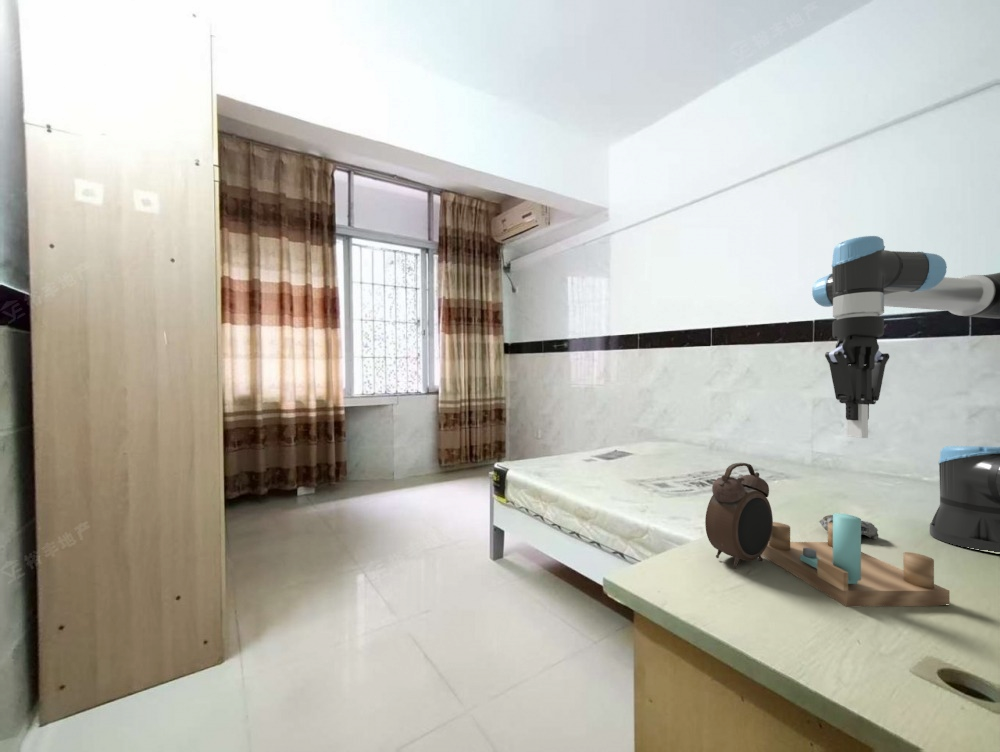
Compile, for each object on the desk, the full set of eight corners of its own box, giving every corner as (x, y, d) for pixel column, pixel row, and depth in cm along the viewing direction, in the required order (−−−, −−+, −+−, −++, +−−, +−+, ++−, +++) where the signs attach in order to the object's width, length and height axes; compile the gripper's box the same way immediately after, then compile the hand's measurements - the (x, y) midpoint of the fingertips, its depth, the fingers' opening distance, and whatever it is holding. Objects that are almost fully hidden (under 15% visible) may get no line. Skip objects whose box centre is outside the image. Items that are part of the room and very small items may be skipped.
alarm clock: (737, 576, 74) (738, 469, 74) (701, 560, 80) (702, 462, 81) (780, 561, 80) (780, 464, 81) (744, 548, 87) (744, 458, 87)
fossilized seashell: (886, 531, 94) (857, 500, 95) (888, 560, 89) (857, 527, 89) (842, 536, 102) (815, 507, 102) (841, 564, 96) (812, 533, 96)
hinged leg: (814, 559, 75) (814, 501, 76) (867, 586, 65) (867, 520, 65) (796, 559, 75) (796, 501, 75) (846, 587, 65) (846, 520, 65)
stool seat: (839, 553, 85) (839, 521, 85) (949, 605, 65) (949, 563, 65) (757, 553, 84) (757, 521, 84) (843, 606, 64) (843, 563, 64)
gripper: (862, 322, 82) (862, 434, 82) (811, 319, 80) (811, 434, 79) (905, 316, 75) (906, 439, 74) (850, 312, 72) (850, 440, 72)
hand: (857, 437), depth 77 cm, fingers closed
